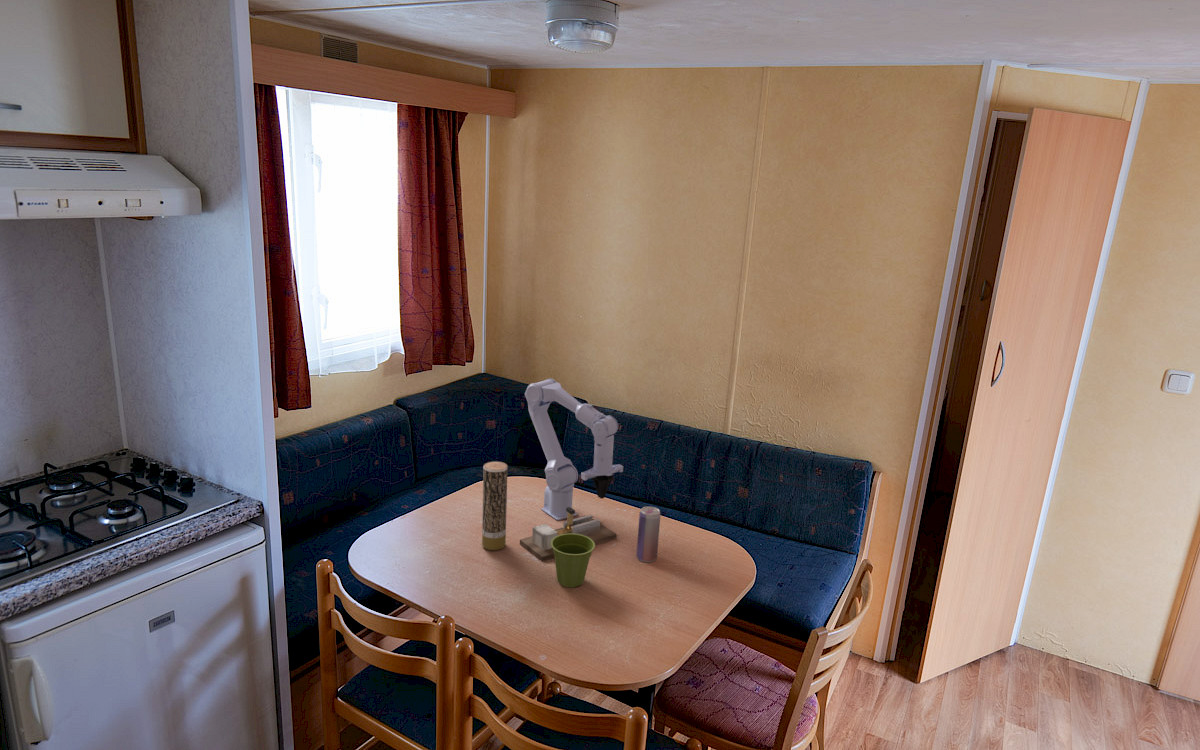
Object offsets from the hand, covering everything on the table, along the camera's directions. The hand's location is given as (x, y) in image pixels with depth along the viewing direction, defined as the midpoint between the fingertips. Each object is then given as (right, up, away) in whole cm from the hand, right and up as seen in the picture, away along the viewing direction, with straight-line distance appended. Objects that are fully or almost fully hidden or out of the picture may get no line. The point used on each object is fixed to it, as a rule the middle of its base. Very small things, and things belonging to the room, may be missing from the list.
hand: (601, 497), depth 231 cm
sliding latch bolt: (-13, -11, -10) cm, 20 cm away
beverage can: (+13, -16, -14) cm, 25 cm away
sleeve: (-6, -10, -5) cm, 13 cm away
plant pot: (-8, -18, -29) cm, 35 cm away
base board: (-10, -12, -7) cm, 17 cm away
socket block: (-17, -12, -13) cm, 24 cm away
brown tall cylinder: (-31, -12, -12) cm, 36 cm away
